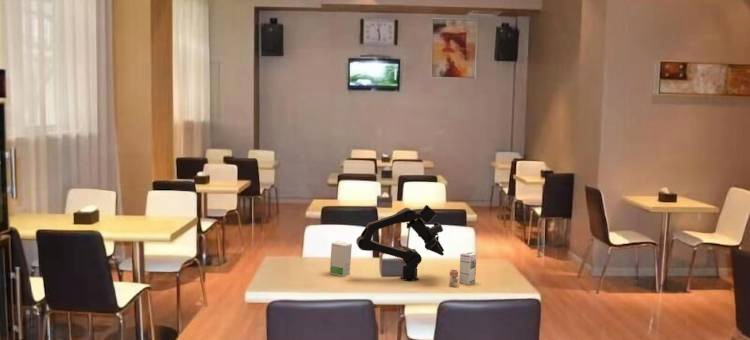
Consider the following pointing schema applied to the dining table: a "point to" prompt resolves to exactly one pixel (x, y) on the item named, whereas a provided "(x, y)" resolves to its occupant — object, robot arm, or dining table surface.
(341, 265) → the skincare box
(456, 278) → the beech block
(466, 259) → the syrup box
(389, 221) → the robot arm
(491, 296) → the dining table surface
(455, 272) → the terracotta block
